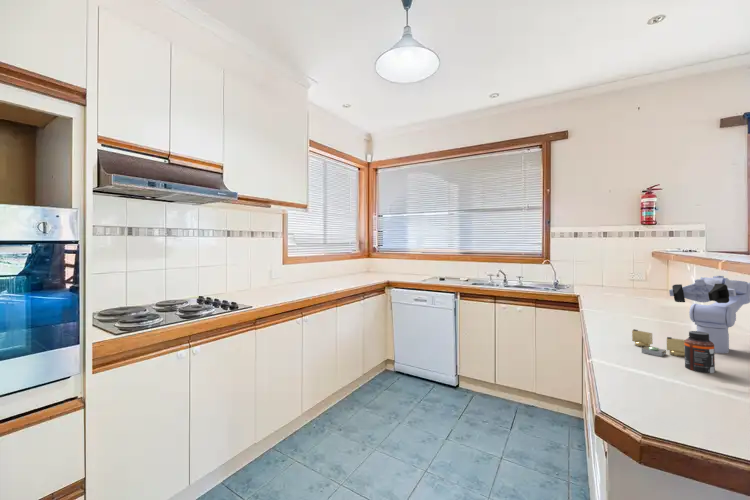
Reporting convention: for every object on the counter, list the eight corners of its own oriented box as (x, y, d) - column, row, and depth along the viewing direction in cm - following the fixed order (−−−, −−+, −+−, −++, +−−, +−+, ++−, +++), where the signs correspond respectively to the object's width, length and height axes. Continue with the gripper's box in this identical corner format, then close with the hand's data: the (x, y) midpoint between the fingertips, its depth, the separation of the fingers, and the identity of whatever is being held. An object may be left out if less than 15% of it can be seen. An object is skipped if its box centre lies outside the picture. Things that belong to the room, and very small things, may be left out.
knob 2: (690, 355, 104) (689, 338, 104) (689, 358, 101) (689, 341, 101) (667, 351, 107) (667, 335, 107) (666, 354, 105) (666, 338, 105)
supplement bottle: (721, 378, 89) (720, 335, 89) (695, 376, 90) (694, 334, 90) (704, 370, 94) (703, 330, 94) (679, 369, 96) (678, 329, 96)
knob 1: (654, 347, 113) (654, 331, 113) (647, 348, 111) (647, 333, 111) (637, 343, 117) (636, 328, 117) (630, 344, 116) (630, 330, 116)
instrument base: (634, 346, 118) (634, 337, 118) (696, 357, 105) (696, 348, 105) (620, 352, 111) (620, 343, 111) (685, 365, 98) (684, 355, 98)
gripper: (674, 278, 111) (659, 283, 104) (737, 276, 99) (725, 282, 92) (677, 299, 111) (662, 306, 104) (741, 300, 99) (729, 308, 92)
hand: (692, 296), depth 98 cm, fingers open, 7 cm apart
